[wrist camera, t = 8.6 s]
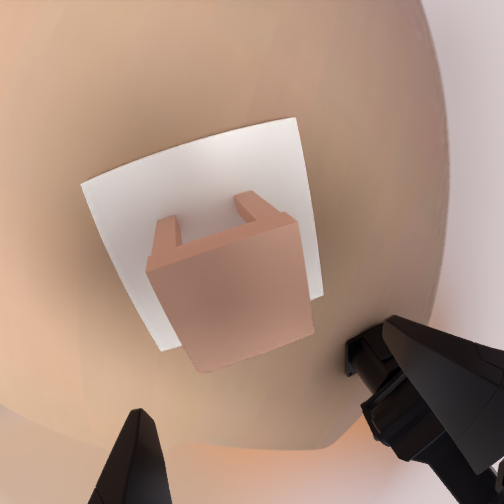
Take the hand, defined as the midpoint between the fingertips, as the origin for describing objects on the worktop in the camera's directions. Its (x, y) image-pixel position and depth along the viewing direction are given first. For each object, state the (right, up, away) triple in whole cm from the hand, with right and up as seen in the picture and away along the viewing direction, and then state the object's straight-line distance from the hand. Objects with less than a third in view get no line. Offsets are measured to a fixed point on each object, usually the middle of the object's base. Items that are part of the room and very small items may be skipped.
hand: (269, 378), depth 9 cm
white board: (-3, +5, +11) cm, 13 cm away
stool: (-3, +4, +10) cm, 11 cm away
